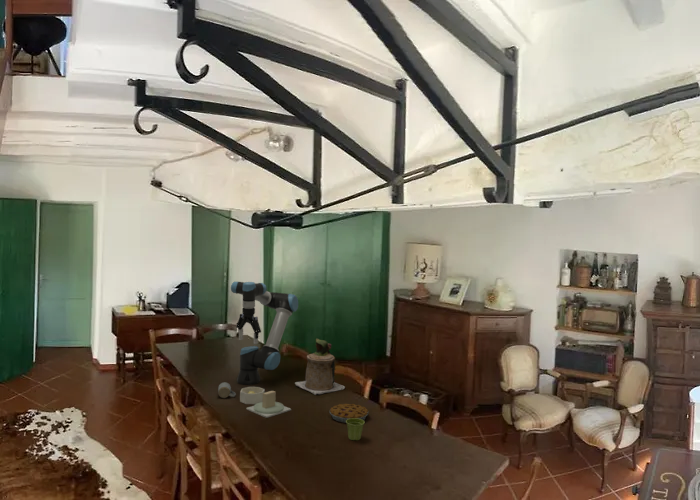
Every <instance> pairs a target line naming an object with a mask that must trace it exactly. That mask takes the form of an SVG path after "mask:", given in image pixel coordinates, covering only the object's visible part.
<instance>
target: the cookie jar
mask: <svg viewBox="0 0 700 500" xmlns="http://www.w3.org/2000/svg"><path fill="white" fill-rule="evenodd" d="M315 347H316V350H315V352H313V353H310V354H307V355H306V360H307V365H306V368H305V378H304V379H305V380H303V381H296V382H294V384H295V387H299V388H300V389H303V390H304V391H308V392H309V393H312V394H313V395H314V396H317V395H323V394H328V393H334V392H337V391H342V390H344V389H345V388H346V386H344V385H342V384H339V383H338V382H335V370H336V366H337V365H336V357H335V356H334V355H333V354H331V352H330V350H331V349H332V344H331V343H328V341H327V340H323V339H319V338H316V339H315Z"/></svg>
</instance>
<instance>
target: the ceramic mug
mask: <svg viewBox="0 0 700 500" xmlns="http://www.w3.org/2000/svg"><path fill="white" fill-rule="evenodd" d="M217 387H218V388H217V390H218V391H217V393H218V396H219V397H220V398H221V399H226V398H228V397H232V398H235V397H236V395H237V393H236V392H235V391H233V390H232V387H231V384H230V383H228V382H221V383H220V384H219V385H218V386H217Z"/></svg>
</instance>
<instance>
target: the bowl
mask: <svg viewBox="0 0 700 500" xmlns="http://www.w3.org/2000/svg"><path fill="white" fill-rule="evenodd" d="M265 392H266V391H265V388H264V387H260V386H247V387H243V388H241V389H240V391H239V402H240V403H243V404H244V405H255V404H257V403H260V402H262V401H263V393H265Z"/></svg>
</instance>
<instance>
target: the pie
mask: <svg viewBox="0 0 700 500" xmlns="http://www.w3.org/2000/svg"><path fill="white" fill-rule="evenodd" d="M329 414H330V415H331V417H332V418H331V419H333V420H335V421H336V422H340V423H344V424H345V423H346V420H347V419H351V418H357V419H361V420H363V421H365V419H366V418H367V416H368V415H369V410H368V409H367V407H365V406H362V405H360V404H355V403H352V404H351V403H350V404H349V403H338V404H337V405H333V407H332V406H331V408H330V409H329ZM346 424H347V423H346Z"/></svg>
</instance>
